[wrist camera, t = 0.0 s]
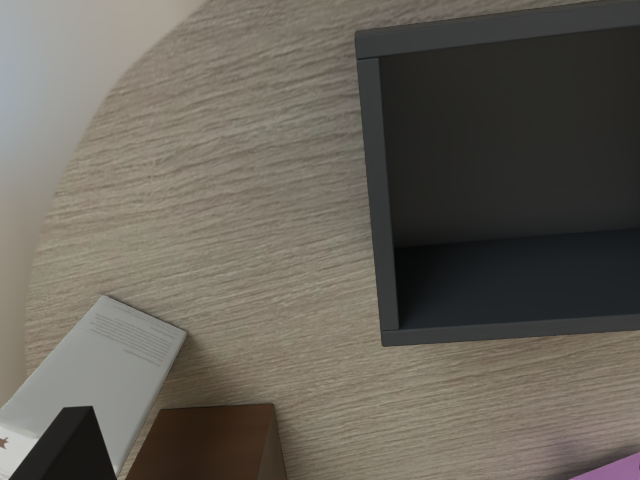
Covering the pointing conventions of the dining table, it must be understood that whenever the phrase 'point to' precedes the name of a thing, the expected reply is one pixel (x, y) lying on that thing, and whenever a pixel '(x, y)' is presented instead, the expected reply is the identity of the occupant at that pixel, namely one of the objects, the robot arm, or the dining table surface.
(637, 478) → the teapot
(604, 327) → the bin
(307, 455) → the dining table surface
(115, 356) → the cosmetic box
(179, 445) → the stand
